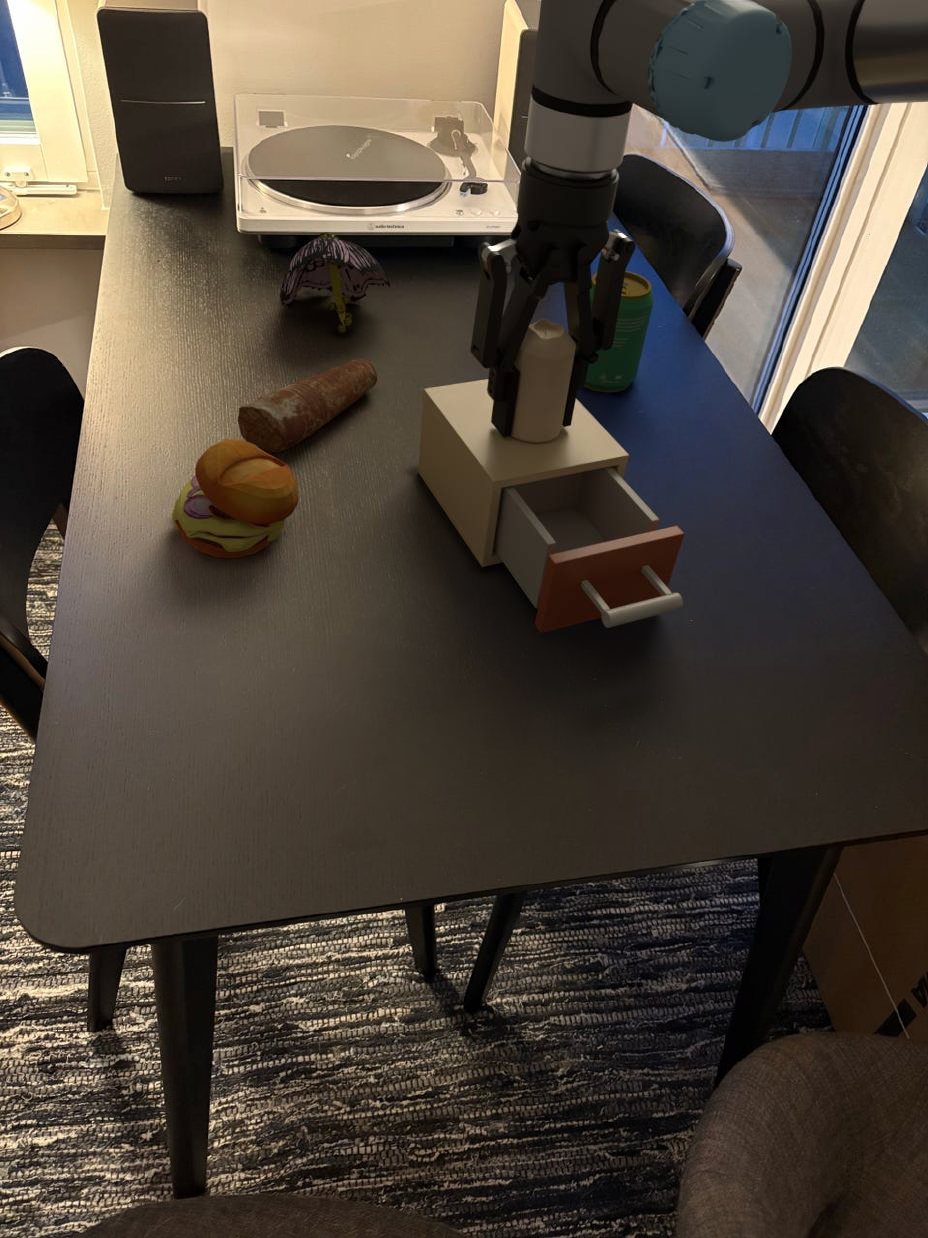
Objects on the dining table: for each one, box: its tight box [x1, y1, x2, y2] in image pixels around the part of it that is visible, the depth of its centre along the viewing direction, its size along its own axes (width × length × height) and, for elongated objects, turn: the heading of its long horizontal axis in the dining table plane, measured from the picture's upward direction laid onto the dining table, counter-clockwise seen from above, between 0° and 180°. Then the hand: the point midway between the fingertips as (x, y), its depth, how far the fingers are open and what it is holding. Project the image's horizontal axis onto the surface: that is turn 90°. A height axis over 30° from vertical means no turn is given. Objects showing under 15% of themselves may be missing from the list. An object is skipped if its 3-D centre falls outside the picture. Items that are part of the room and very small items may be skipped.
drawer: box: [493, 466, 685, 634], centre depth 86 cm, size 20×13×8 cm, turn 24°
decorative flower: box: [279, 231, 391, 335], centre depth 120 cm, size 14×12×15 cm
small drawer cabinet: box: [417, 378, 630, 568], centre depth 94 cm, size 16×14×10 cm
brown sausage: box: [237, 358, 378, 453], centre depth 103 cm, size 6×19×6 cm, turn 145°
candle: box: [511, 318, 576, 442], centre depth 86 cm, size 6×6×10 cm
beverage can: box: [583, 270, 655, 393], centre depth 114 cm, size 8×8×12 cm
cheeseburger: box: [171, 438, 299, 559], centre depth 88 cm, size 10×11×10 cm
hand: (531, 423), depth 90 cm, fingers closed on candle, 5 cm apart
